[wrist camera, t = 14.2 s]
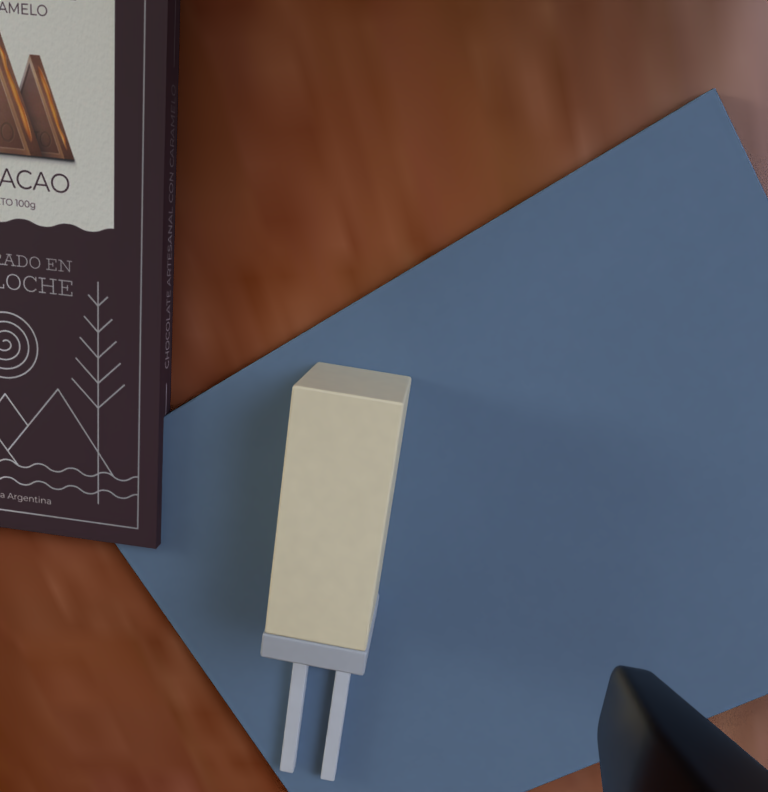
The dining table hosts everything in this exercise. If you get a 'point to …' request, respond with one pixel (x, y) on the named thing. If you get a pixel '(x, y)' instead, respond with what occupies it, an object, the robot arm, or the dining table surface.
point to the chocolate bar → (86, 263)
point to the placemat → (515, 480)
